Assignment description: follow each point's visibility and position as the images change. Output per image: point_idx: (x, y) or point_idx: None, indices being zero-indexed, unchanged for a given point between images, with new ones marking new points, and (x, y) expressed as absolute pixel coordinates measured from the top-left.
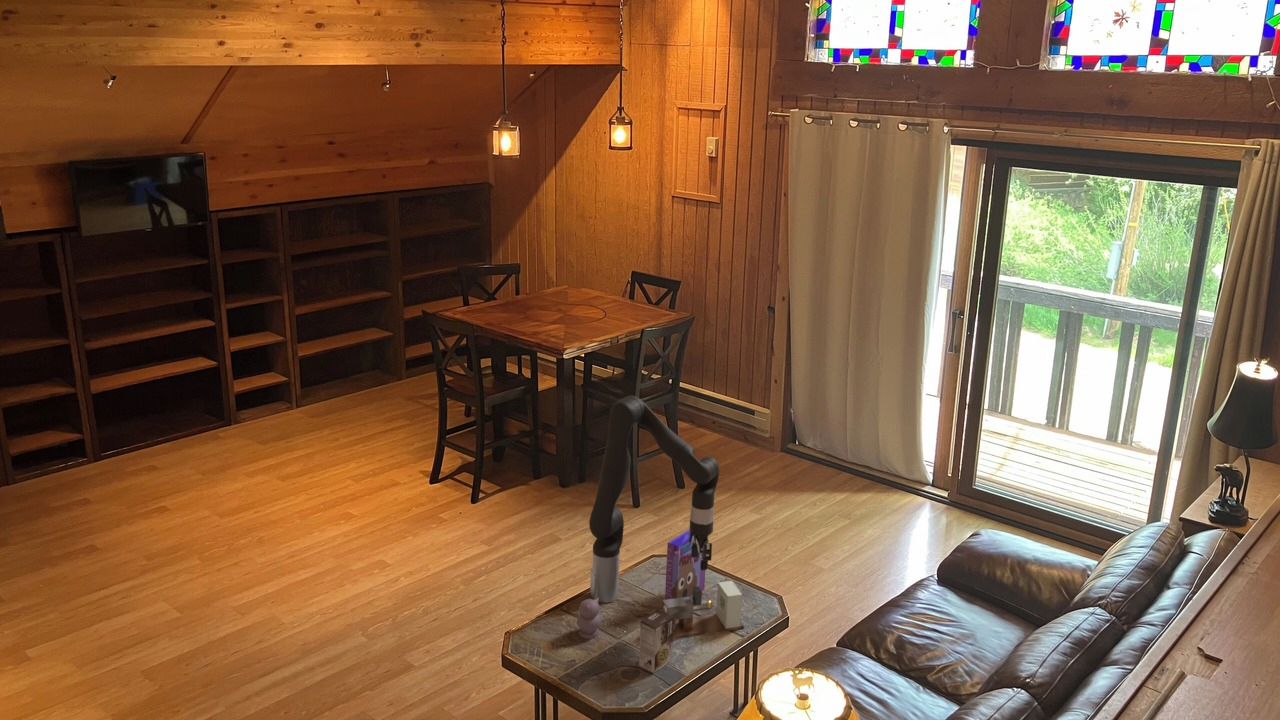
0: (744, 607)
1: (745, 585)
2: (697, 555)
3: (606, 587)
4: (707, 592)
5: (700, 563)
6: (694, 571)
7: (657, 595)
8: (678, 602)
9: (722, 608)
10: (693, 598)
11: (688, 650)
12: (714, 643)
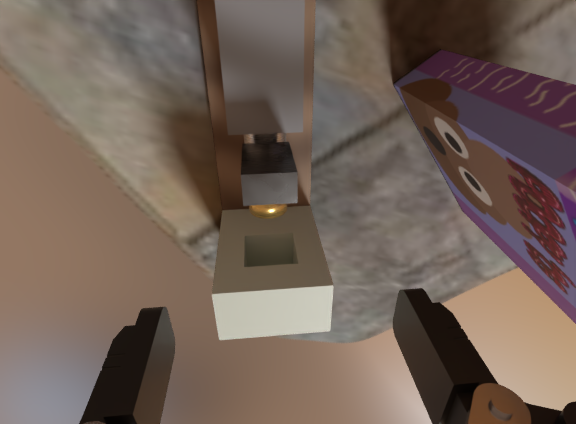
0: None
1: None
2: (397, 336)
3: None
4: (443, 215)
5: (149, 357)
6: (495, 217)
7: (510, 40)
8: (258, 58)
9: (268, 237)
10: (275, 149)
11: (108, 41)
12: (154, 152)
